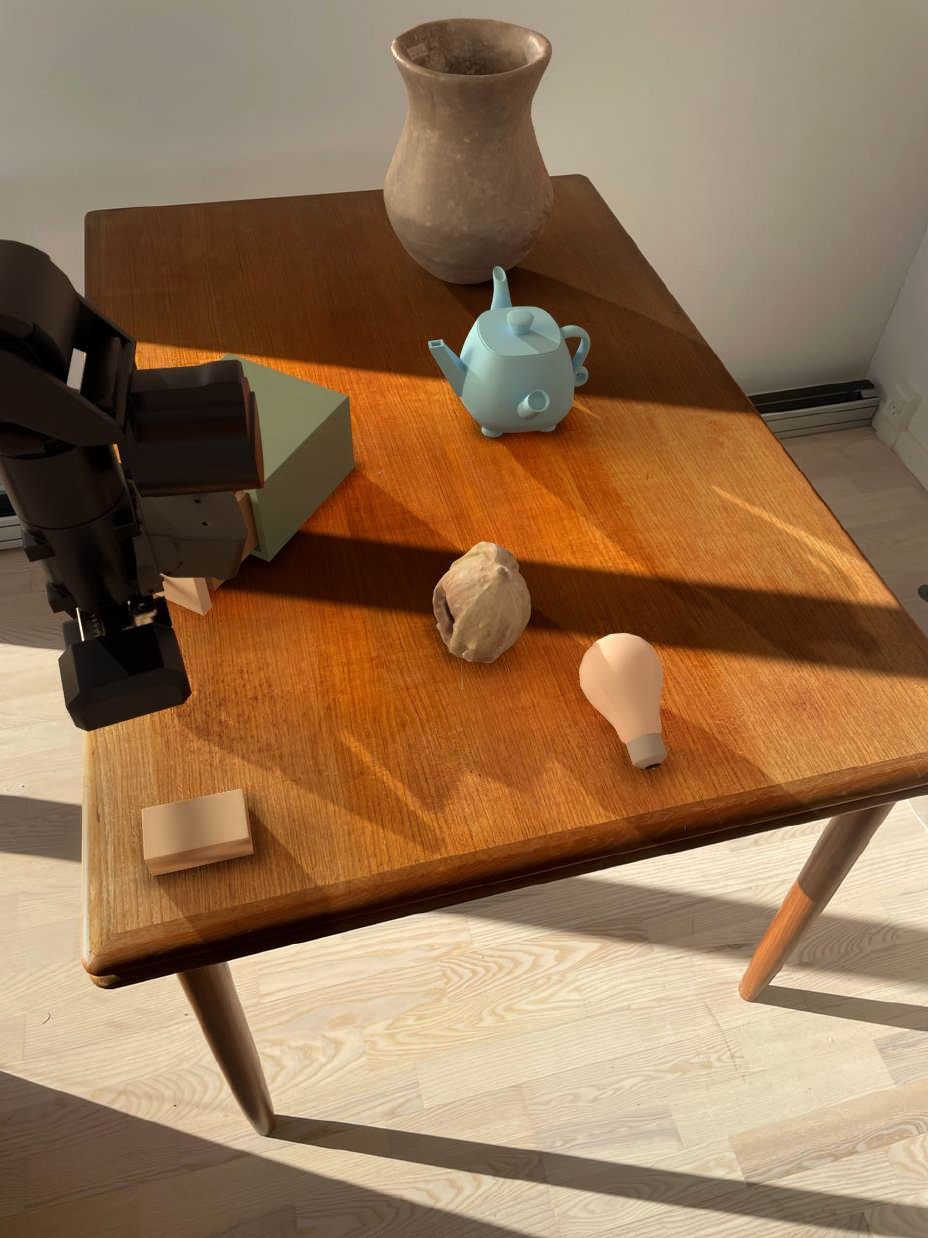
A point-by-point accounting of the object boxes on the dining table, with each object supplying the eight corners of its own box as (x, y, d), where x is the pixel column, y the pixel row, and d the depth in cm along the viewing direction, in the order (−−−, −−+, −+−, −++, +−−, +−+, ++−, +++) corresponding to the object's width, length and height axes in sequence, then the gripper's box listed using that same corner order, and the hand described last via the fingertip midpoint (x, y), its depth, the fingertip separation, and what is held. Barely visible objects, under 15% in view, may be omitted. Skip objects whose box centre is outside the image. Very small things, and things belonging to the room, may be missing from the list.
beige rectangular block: (247, 805, 71) (242, 787, 69) (254, 854, 68) (249, 837, 66) (149, 826, 69) (141, 808, 67) (152, 876, 67) (144, 860, 65)
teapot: (412, 413, 100) (411, 317, 92) (491, 354, 108) (497, 260, 99) (532, 477, 95) (543, 380, 86) (608, 409, 102) (624, 314, 93)
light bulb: (701, 746, 69) (651, 610, 73) (613, 771, 69) (568, 633, 73) (690, 767, 75) (645, 640, 79) (609, 790, 75) (568, 661, 79)
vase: (372, 303, 113) (361, 74, 94) (400, 223, 126) (395, 6, 107) (540, 319, 112) (563, 91, 93) (551, 237, 125) (573, 20, 105)
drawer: (171, 651, 78) (152, 596, 73) (53, 597, 82) (28, 540, 77) (294, 518, 89) (286, 460, 84) (185, 474, 92) (170, 416, 87)
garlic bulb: (467, 616, 86) (474, 513, 81) (550, 648, 82) (563, 541, 77) (403, 660, 79) (407, 549, 74) (490, 697, 75) (500, 583, 70)
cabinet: (269, 562, 86) (256, 490, 80) (148, 511, 90) (125, 438, 84) (355, 467, 95) (349, 395, 88) (240, 424, 99) (227, 352, 92)
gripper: (263, 573, 47) (298, 746, 59) (187, 361, 58) (229, 543, 70) (26, 636, 45) (112, 804, 57) (-7, 400, 56) (72, 583, 68)
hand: (139, 670), depth 63 cm, fingers closed
